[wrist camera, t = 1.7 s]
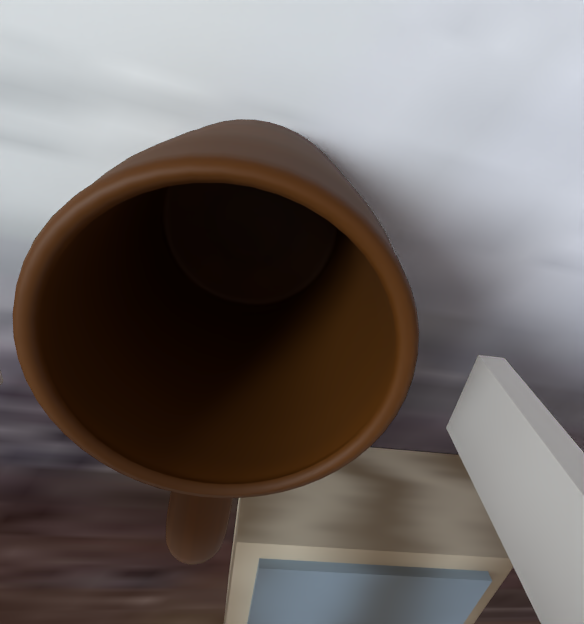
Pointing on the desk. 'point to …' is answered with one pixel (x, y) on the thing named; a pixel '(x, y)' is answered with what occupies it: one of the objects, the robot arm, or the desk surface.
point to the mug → (217, 322)
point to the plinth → (368, 547)
